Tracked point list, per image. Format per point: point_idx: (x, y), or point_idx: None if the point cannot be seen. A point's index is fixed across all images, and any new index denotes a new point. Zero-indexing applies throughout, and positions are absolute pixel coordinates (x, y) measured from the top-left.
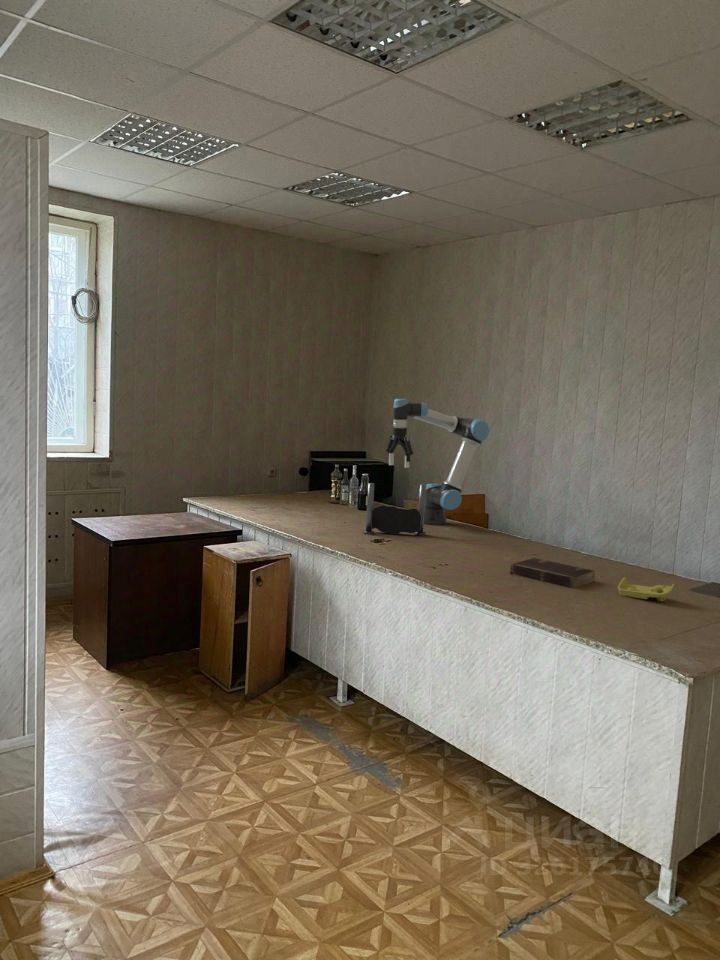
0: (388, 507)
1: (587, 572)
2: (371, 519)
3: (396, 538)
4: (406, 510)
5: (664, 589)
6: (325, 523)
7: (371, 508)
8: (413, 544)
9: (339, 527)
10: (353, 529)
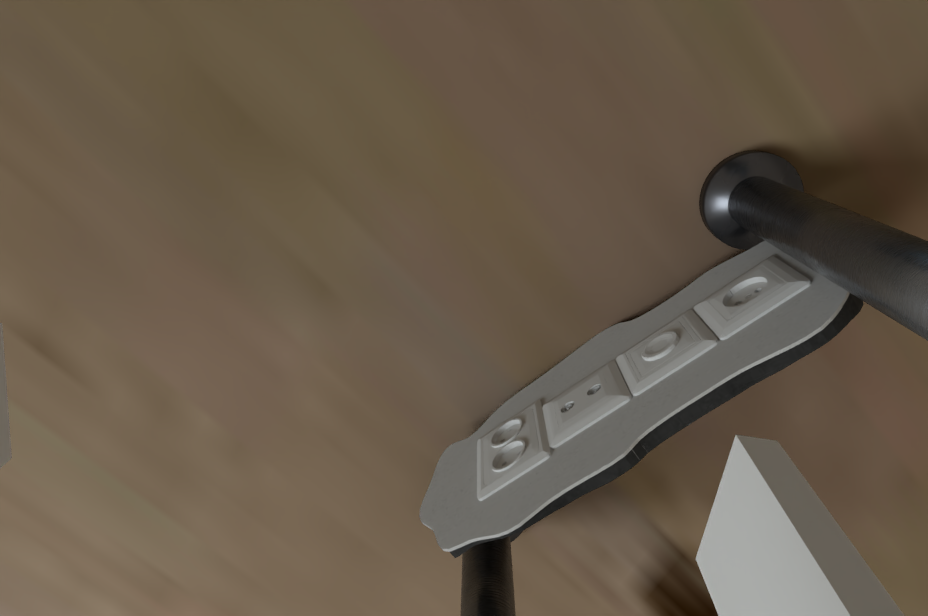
0: (574, 496)
1: None
2: (512, 575)
3: (719, 464)
4: (737, 390)
5: None
6: (28, 497)
7: None
8: (920, 513)
9: (204, 516)
10: (311, 486)
